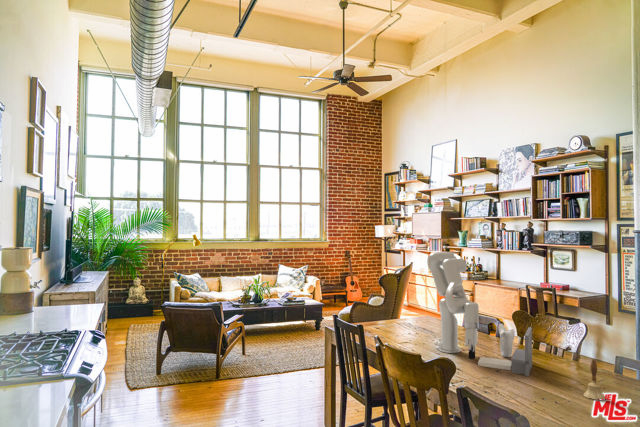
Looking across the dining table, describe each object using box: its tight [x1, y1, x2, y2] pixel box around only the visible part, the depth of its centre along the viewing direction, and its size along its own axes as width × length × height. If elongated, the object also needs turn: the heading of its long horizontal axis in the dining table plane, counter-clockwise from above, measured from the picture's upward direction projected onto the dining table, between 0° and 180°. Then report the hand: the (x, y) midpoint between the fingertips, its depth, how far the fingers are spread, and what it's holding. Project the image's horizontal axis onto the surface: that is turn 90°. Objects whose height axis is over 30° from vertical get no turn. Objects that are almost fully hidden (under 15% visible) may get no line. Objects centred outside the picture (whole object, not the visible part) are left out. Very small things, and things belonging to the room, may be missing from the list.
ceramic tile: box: [477, 356, 512, 371], centre depth 228 cm, size 16×10×2 cm, turn 61°
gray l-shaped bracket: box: [510, 326, 533, 378], centre depth 222 cm, size 8×21×20 cm, turn 149°
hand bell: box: [583, 359, 606, 400], centre depth 185 cm, size 8×8×16 cm
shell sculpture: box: [498, 323, 516, 358], centre depth 244 cm, size 8×8×18 cm
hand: (472, 358), depth 234 cm, fingers closed
